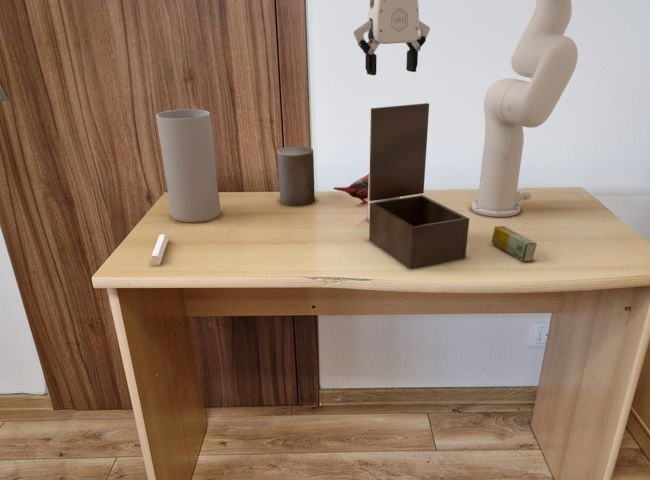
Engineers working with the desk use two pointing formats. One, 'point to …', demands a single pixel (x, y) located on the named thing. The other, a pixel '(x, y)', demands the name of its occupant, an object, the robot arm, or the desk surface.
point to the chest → (418, 231)
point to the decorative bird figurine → (357, 189)
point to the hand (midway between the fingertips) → (391, 72)
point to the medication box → (514, 243)
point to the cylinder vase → (189, 164)
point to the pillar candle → (296, 176)
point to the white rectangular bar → (159, 249)
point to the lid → (398, 150)
